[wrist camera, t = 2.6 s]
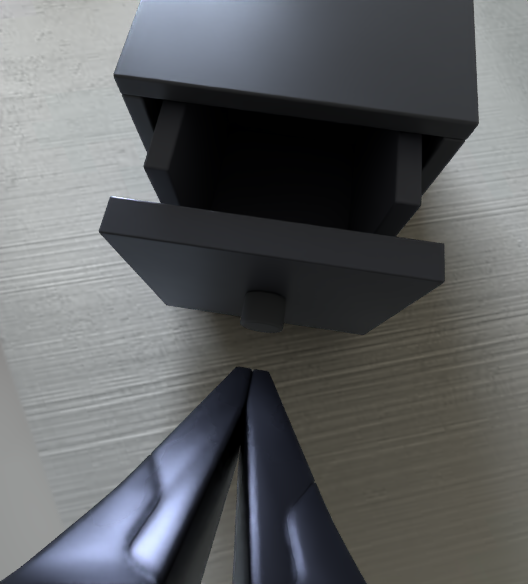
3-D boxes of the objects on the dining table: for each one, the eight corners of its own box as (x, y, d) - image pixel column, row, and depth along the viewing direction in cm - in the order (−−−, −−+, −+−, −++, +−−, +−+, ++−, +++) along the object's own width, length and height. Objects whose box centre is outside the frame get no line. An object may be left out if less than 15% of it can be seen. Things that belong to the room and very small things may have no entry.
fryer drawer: (362, 360, 17) (445, 325, 9) (160, 329, 17) (84, 271, 9) (375, 149, 20) (443, 4, 13) (209, 126, 20) (182, -28, 13)
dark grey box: (375, 255, 19) (480, 124, 10) (179, 226, 19) (111, 75, 10) (385, 87, 23) (469, -119, 14) (219, 65, 23) (194, -150, 14)
